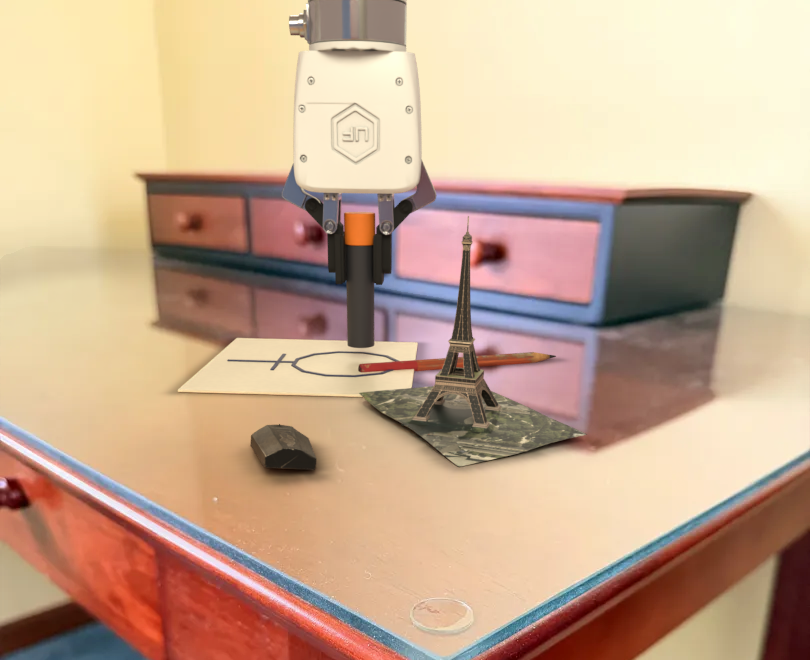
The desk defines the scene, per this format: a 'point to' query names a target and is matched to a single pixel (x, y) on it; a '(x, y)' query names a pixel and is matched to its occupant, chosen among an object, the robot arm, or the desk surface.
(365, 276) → the marker
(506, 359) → the pencil
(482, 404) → the eiffel tower figurine
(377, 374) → the paper
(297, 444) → the block
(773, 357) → the desk surface
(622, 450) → the desk surface
